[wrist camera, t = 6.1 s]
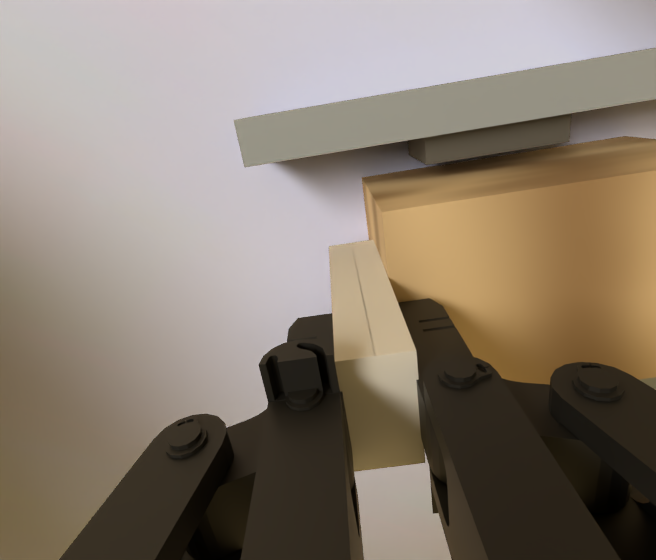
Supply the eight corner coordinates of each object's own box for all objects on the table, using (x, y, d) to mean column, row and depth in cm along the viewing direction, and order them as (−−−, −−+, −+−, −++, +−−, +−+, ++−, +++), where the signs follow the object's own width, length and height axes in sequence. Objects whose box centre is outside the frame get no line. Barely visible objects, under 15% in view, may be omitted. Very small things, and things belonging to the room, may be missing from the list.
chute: (309, 388, 18) (306, 487, 13) (249, 110, 13) (213, 114, 9) (810, 317, 17) (995, 397, 12) (923, -6, 12) (1279, -70, 8)
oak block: (379, 326, 17) (401, 410, 12) (361, 177, 14) (381, 212, 10) (604, 294, 16) (717, 369, 12) (624, 136, 14) (775, 151, 9)
